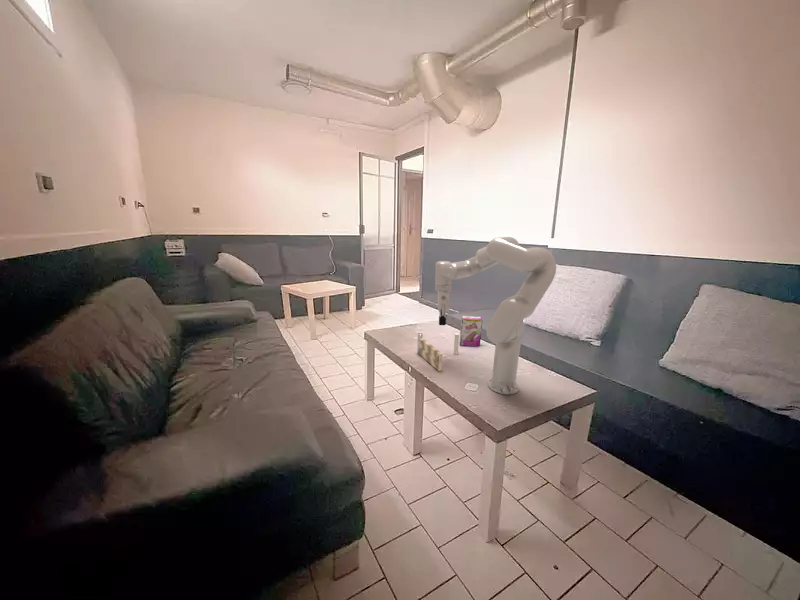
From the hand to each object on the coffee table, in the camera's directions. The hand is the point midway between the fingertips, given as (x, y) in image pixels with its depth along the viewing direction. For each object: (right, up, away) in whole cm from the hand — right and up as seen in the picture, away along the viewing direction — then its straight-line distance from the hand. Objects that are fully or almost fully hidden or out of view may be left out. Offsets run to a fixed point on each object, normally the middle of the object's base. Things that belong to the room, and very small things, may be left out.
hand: (442, 324), depth 153 cm
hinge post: (-10, -16, +13) cm, 23 cm away
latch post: (+9, -16, +14) cm, 23 cm away
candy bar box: (+19, -14, +25) cm, 34 cm away
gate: (-6, -18, +2) cm, 19 cm away
